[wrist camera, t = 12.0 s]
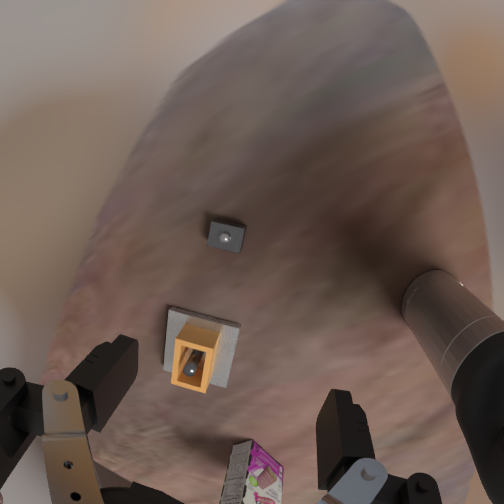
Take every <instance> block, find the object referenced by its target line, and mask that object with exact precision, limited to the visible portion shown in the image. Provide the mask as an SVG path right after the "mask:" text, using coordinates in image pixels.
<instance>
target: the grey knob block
mask: <svg viewBox="0 0 504 504" xmlns="http://www.w3.org/2000/svg"><path fill="white" fill-rule="evenodd" d="M246 227H247V226H246V225H242V224H237V223H233V222H229V221H224V220H220V219H214V220H213V221H211V226H210V232H209V237H208V243H207V246H211V247H215V248H220V249H224V250H228V251H232V252H236V253H240V251H241V249H242V246H243V241H244V236H245V231H246Z"/></svg>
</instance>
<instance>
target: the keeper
mask: <svg viewBox="0 0 504 504" xmlns="http://www.w3.org/2000/svg"><path fill="white" fill-rule="evenodd" d="M184 324H188V325H191V326H195V327H199V328H202V329H206V330H210V331H213V332H217V333H220V335H219V340H218V345H217V350H216V355H215V361H214V366H213V371H212V376H211V379H210V382H209V383H210V384H213V385H217V386H221V387H225V388H226V386H227V383H228V379H229V374H230V370H231V366H232V361H233V357H234V353H235V349H236V344H237V340H238V336H239V331H240V327H241V324H237V323H233V322H229V321H225V320H221V319H217V318H214V317H210V316H206V315H202V314H199V313H195V312H191V311H188V310H184V309H180V308H177V307H173V306H171V308H170V309H169V313H168V323H167V333H166V345H165V357H164V370H165V371H168V372H172V369H173V359H174V349H175V339H176V337H177V335H178V334H179V332H180V331H181V329H182V327H183V326H184ZM205 357H206V352H204V351H200V350H196V349H193V348H189V347H187V353H186V361H185V367H184V369H183V373H184V374H185V375H186V376H189V377H192V376H194V374H195V372H196V370H197V368H198V369H201V370H203V369H204V363H205Z"/></svg>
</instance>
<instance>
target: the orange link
mask: <svg viewBox="0 0 504 504" xmlns="http://www.w3.org/2000/svg"><path fill="white" fill-rule="evenodd" d="M219 335H220V333H217V332H213V331H210V330H206V329H202V328H199V327H195V326H191V325H188V324H184V326H183V327H182V329H181V331H180V332H179V334H178V335H177V337H176V339H175V349H174V359H173V369H172V380H171V383H172V384H175V385H178V386H182V387H185V388H188V389H192V390H195V391H199V392H202V393H206V390H207V387H208V385H209V382H210V379H211V376H212V371H213V366H214V361H215V355H216V350H217V345H218V340H219ZM187 347H189V348H193V349H196V350H200V351H204V352H206V357H205V363H204V369H203V370H201V369H198V368H197V370H196V372H195V374H194V376H192V377H189V376H186V375H185V374H184V373H183V369H184V367H185V361H186V353H187Z"/></svg>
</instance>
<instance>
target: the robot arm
mask: <svg viewBox="0 0 504 504" xmlns="http://www.w3.org/2000/svg"><path fill="white" fill-rule="evenodd" d="M402 315H403V317H404V320H405V321H406V323H407V324H408V326H409V327H410V329H411V331H412V332H413V334H414V336H415V337H416V339H417V340H418V342H419V344H420V345H421V347H422V349H423V350H424V352H425V354H426V355H427V357H428V359H429V360H430V362H431V364H432V365H433V367H434V369H435V370H436V372H437V374H438V375H439V377H440V379H441V381H442V382H443V384H444V386H445V387H446V389H447V391H448V393H449V395H450V396H451V398H452V400H453V402H454V404H455V406H456V417H457V420H458V423H459V425H460V427H461V430H462V432H463V434H464V437H465V439H466V442H467V444H468V447H469V449H470V452H471V455H472V458H473V460H474V463H475V466H476V469H477V472H478V474H479V477H480V480H481V482H482V485H483V487H484V489H485V491H486V493H487V495H488V497H489V499H490V500H491V502H492V503H493V504H504V321H503V320H502V319H501V318H500V317H499V316H498V315H496V314H495V313H494V312H493V311H492V310H491V309H490V308H489V307H488V306H486V305H485V304H484V303H483V302H482V301H481V300H480V299H478V298H477V297H476V296H475V295H474V294H473V293H471V292H470V291H469V290H468V289H467V288H466V287H464V286H463V285H462V284H461V283H460V282H459V281H457V280H456V279H455V278H454V277H452V276H451V275H450V274H448V273H447V272H445V271H441V270H432V271H428V272H425V273H423V274H421V275H420V276H418V277H417V278H416V279H415V280H414V281H413V282H412V283H411V284H410V285H409V287H408V288H407V290H406V292H405V294H404V297H403V300H402ZM137 371H138V340H136V339H133V338H130V337H127V336H125V335H122V334H121V335H119V336H118V337H117V338H116V339H115V340H114V341H113V342H112V343H109V342H107V341H106V342H104V343H102V344H100V345H98V346H96V347H95V348H94V349H93V350H92V351H91V352H90V354H88V355H87V356H86V358H85V359H84V360H83V361H82V362H81V363H80V364H79V365H78V366H77V367H76V368H75V369H74V370H73V371H72V372H71V373H70V375H69V376H68V377H67V378H66V379H65V380H53V381H50V382H49V383H47V384H46V385H45V386H43V385H38V384H34V383H30V382H26V379H25V376H24V374H23V373H22V372H21V371H20V370H18V369H16V368H3V369H1V370H0V489H1V488H2V486H3V485H4V483H5V481H6V480H7V478H8V477H9V475H10V474H11V472H12V471H13V469H14V468H15V466H16V465H17V463H18V462H19V460H20V459H21V457H22V456H23V454H24V453H25V451H26V450H27V449H28V447H29V446H30V444H31V443H32V441H33V440H34V439H35V437H36V436H37V435H38V436H42V444H43V453H44V460H45V467H46V473H47V480H48V486H49V491H50V496H51V501H52V504H184V503H182V502H180V501H178V500H176V499H174V498H173V497H171V496H169V495H167V494H165V493H164V492H162V491H159V490H156V489H153V488H150V487H147V486H144V485H142V484H139V483H136V482H134V481H133V483H132V485H131V487H130V488H127V487H107V488H101V486H100V483H99V479H98V476H97V473H96V469H95V465H94V462H93V458H92V454H91V450H90V445H89V441H88V437H87V434H88V433H89V431H90V430H91V429H93V430H95V431H97V432H101V430H102V429H103V427H104V426H105V424H106V423H107V421H108V420H109V418H110V417H111V415H112V414H113V412H114V411H115V409H116V408H117V406H118V405H119V403H120V402H121V400H122V399H123V397H124V396H125V394H126V393H127V391H128V390H129V388H130V387H131V385H132V384H133V382H134V380H135V378H136V375H137ZM367 423H368V422H367V418H366V414H365V412H364V411H363V409H362V408H361V407H360V405H359V404H353V402H352V397H351V393H350V391H344V390H338V389H331V390H330V392H329V394H328V396H327V398H326V400H325V402H324V404H323V406H322V408H321V410H320V412H319V415H318V418H317V422H316V441H317V466H318V489H319V490H327V491H328V493H327V494H326V495H325V496H324V497H323V498H322V499H321V500H320V501H319V502H318V503H317V504H442V501H441V497H440V493H439V489H438V485H437V482H436V481H435V479H434V478H433V477H431V476H430V475H428V474H425V473H415V474H413V475H411V476H410V477H409V478H408V479H404V478H400V477H397V476H393V475H390V474H388V473H387V470H386V468H385V466H384V465H383V464H382V463H380V462H379V461H377V460H376V459H375V454H374V449H373V445H372V440H371V435H370V432H369V426H368V425H367ZM0 504H3V498H2V495H1V493H0Z"/></svg>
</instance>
